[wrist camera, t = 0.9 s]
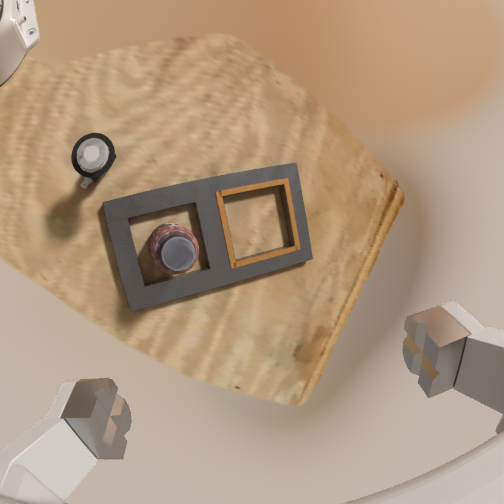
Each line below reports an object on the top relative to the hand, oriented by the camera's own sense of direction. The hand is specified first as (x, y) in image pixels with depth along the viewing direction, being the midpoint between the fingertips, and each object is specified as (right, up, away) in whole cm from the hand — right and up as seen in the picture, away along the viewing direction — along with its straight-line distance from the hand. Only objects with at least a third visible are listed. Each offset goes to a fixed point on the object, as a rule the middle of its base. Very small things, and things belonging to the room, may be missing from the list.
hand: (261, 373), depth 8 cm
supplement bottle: (-12, +4, +39) cm, 41 cm away
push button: (-22, +15, +33) cm, 43 cm away
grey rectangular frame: (-6, +6, +41) cm, 41 cm away
